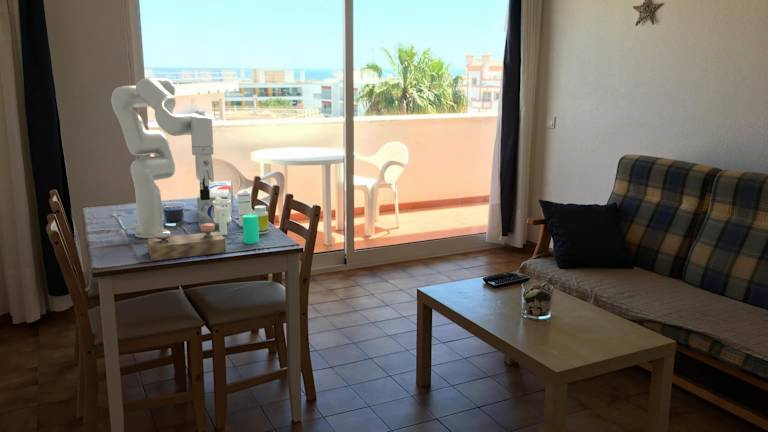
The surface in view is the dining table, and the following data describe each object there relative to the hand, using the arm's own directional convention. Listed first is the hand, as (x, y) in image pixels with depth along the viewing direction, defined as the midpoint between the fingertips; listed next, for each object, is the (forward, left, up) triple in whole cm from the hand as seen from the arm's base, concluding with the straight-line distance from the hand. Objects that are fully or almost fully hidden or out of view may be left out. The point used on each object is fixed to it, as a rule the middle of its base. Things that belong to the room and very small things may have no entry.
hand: (205, 199), depth 237 cm
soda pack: (-22, +50, -20) cm, 59 cm away
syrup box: (-3, +39, -19) cm, 43 cm away
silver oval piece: (-12, -10, -18) cm, 24 cm away
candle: (+11, +14, -19) cm, 26 cm away
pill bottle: (+9, +28, -19) cm, 35 cm away
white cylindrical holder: (-5, +22, -19) cm, 29 cm away
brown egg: (0, 0, -17) cm, 17 cm away
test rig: (-6, -5, -19) cm, 21 cm away
